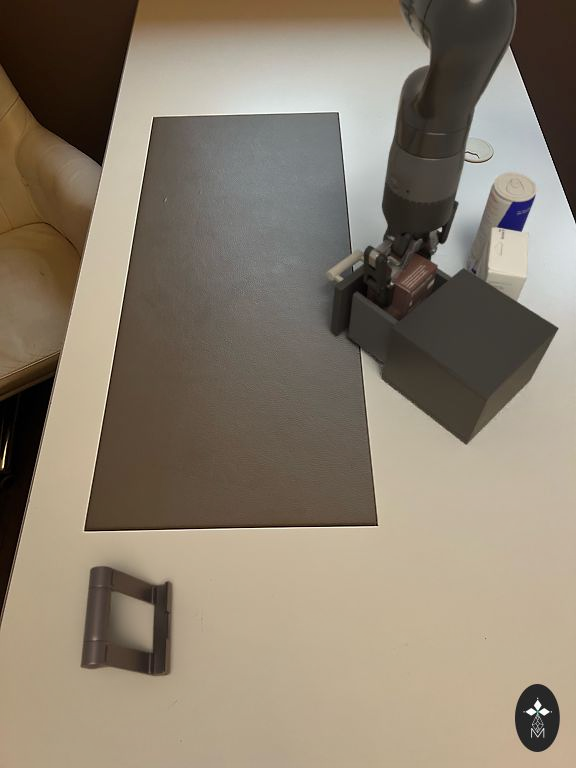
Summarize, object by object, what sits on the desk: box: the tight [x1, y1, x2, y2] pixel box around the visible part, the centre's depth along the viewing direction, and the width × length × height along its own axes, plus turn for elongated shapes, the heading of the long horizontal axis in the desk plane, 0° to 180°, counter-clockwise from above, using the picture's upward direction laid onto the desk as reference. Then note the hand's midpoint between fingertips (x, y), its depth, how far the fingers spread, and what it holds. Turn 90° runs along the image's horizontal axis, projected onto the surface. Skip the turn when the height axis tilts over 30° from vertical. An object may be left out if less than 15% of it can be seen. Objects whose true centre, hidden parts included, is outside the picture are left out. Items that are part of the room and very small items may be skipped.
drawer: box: [325, 248, 453, 365], centre depth 81 cm, size 17×12×9 cm
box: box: [367, 251, 439, 321], centre depth 78 cm, size 6×6×7 cm
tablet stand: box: [80, 565, 173, 677], centre depth 60 cm, size 9×8×8 cm
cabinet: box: [381, 267, 559, 445], centre depth 76 cm, size 14×14×11 cm
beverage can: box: [466, 172, 538, 275], centre depth 86 cm, size 6×6×15 cm
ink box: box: [476, 227, 530, 302], centre depth 82 cm, size 9×5×12 cm, turn 167°
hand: (400, 287), depth 78 cm, fingers closed on box, 6 cm apart
